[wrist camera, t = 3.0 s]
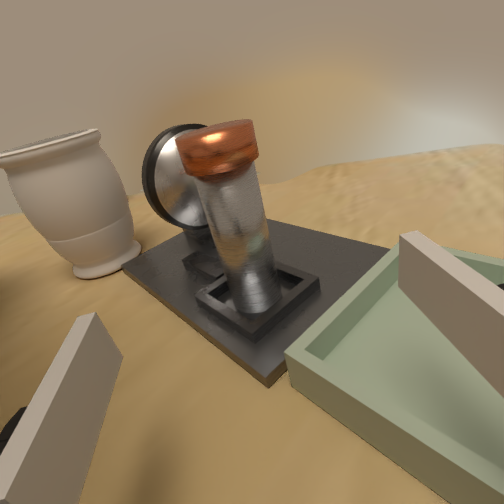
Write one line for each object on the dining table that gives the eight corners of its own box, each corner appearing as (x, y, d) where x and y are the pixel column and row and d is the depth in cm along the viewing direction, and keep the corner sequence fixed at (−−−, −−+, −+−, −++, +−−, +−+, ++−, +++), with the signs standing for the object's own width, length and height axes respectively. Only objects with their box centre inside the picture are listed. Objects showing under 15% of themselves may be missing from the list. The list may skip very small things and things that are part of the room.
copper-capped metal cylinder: (216, 301, 25) (160, 141, 19) (258, 272, 28) (220, 121, 21) (256, 326, 22) (203, 141, 16) (298, 290, 24) (268, 117, 18)
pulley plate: (123, 272, 36) (64, 156, 29) (228, 215, 44) (200, 114, 37) (268, 388, 19) (205, 172, 12) (395, 260, 27) (399, 89, 20)
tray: (291, 386, 18) (283, 352, 17) (401, 269, 26) (402, 237, 24) (668, 664, 9) (728, 640, 7) (677, 348, 16) (708, 303, 14)
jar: (163, 237, 42) (116, 121, 35) (121, 284, 33) (47, 144, 26) (100, 243, 45) (45, 138, 38) (47, 287, 37) (-38, 163, 29)
